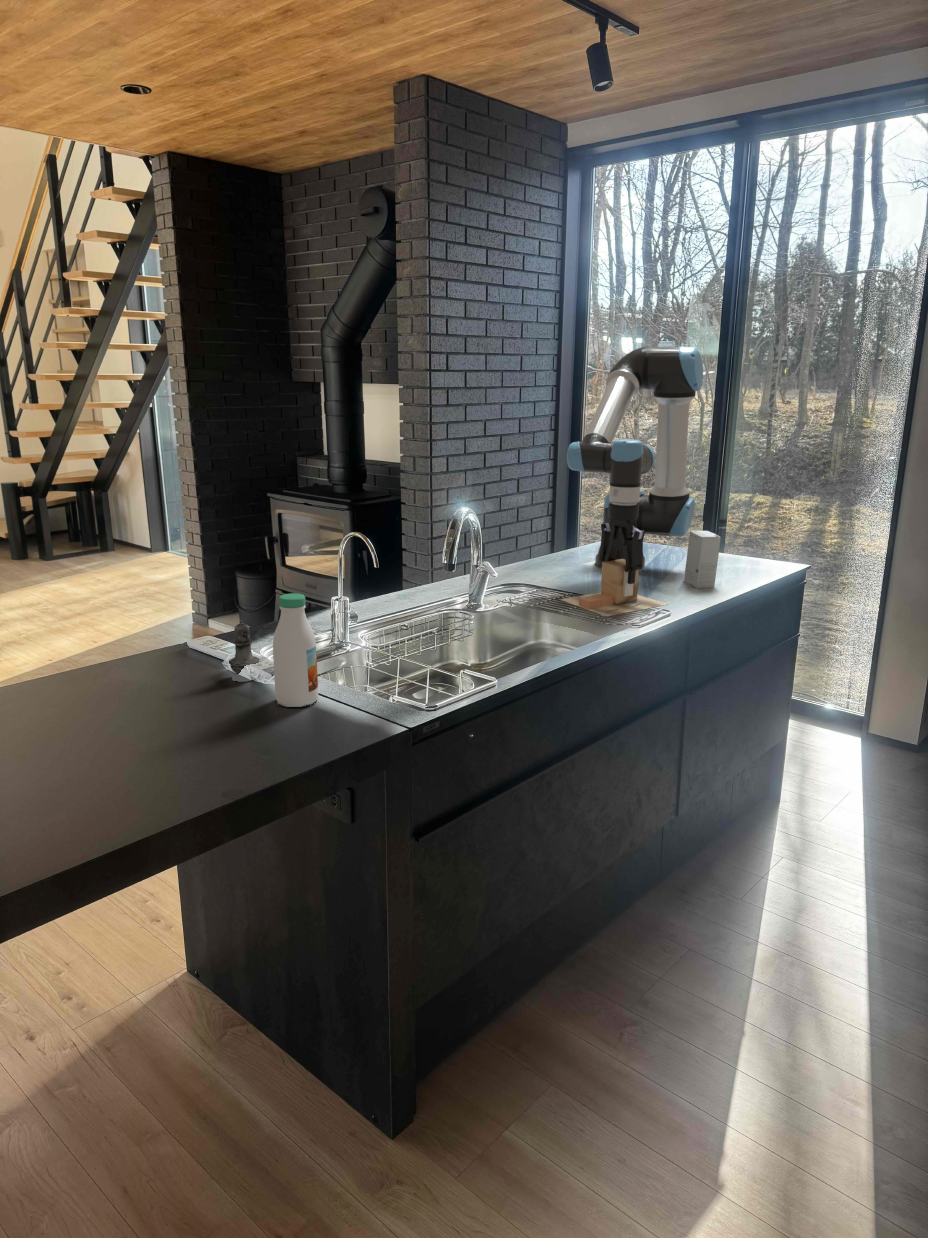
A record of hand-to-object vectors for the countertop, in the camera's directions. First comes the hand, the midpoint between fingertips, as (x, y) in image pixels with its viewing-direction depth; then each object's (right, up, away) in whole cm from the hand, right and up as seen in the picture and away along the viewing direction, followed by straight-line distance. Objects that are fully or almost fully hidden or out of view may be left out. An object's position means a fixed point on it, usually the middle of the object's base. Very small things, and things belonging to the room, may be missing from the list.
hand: (618, 592), depth 223 cm
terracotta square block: (-5, -3, -2) cm, 6 cm away
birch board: (-1, -3, 0) cm, 4 cm away
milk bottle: (-70, -22, -64) cm, 97 cm away
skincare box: (+27, +3, +24) cm, 36 cm away
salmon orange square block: (-8, -4, -4) cm, 10 cm away
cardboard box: (0, -2, +1) cm, 2 cm away
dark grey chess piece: (-83, -18, -52) cm, 99 cm away
